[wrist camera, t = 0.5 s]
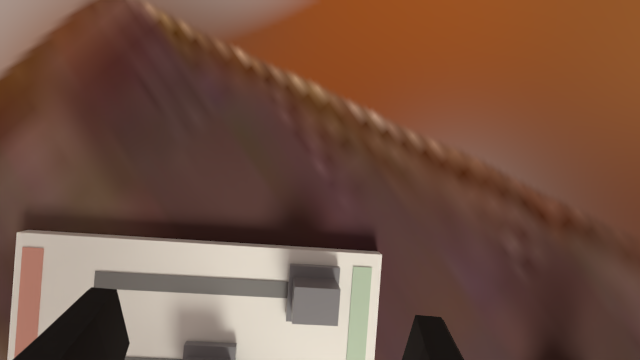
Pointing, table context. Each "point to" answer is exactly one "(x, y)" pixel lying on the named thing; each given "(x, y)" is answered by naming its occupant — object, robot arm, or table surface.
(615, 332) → the table surface
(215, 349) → the knob
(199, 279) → the switch board
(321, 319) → the knob
